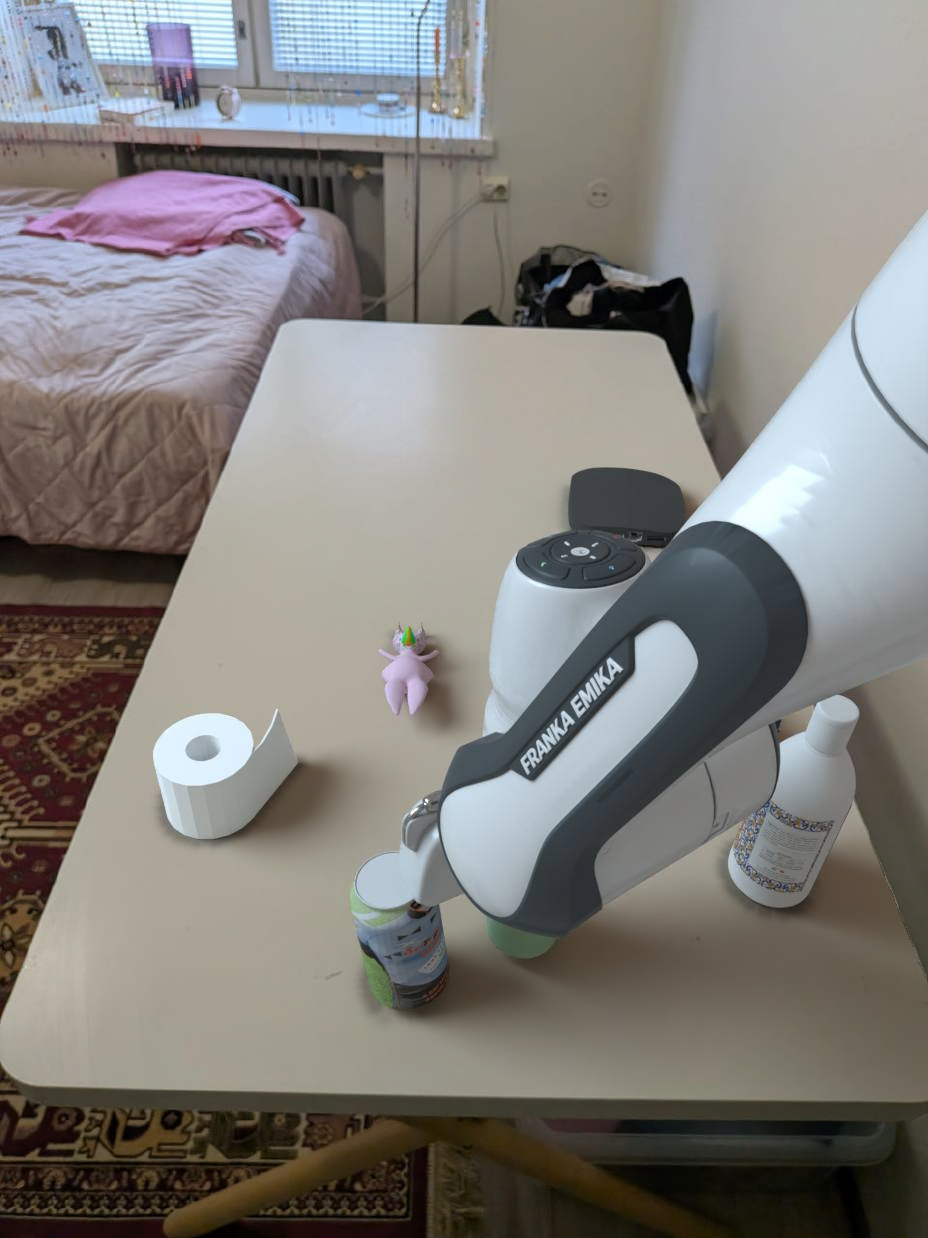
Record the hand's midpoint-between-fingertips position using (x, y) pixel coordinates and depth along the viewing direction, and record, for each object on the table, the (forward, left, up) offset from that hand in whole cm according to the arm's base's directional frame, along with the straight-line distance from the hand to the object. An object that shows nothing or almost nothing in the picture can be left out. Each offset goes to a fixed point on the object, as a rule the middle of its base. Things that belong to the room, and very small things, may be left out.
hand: (530, 879), depth 68 cm
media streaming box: (+47, -43, -8) cm, 64 cm away
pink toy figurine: (+30, -4, -8) cm, 31 cm away
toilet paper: (+23, +16, -8) cm, 29 cm away
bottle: (0, 0, -6) cm, 6 cm away
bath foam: (-4, -22, -8) cm, 23 cm away
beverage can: (+1, +10, -8) cm, 13 cm away
